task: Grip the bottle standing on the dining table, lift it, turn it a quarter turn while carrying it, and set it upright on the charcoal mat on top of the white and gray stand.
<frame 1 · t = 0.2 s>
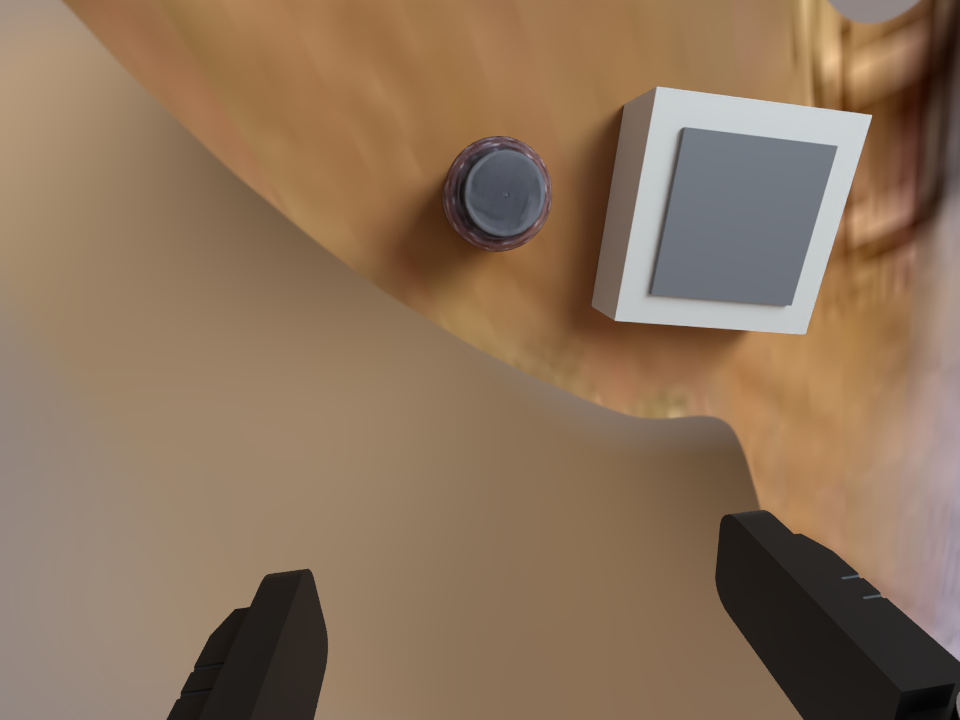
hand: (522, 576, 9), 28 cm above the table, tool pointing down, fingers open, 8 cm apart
white and gray stand: (697, 220, 35), on the table
supplement bottle: (483, 199, 34), on the table
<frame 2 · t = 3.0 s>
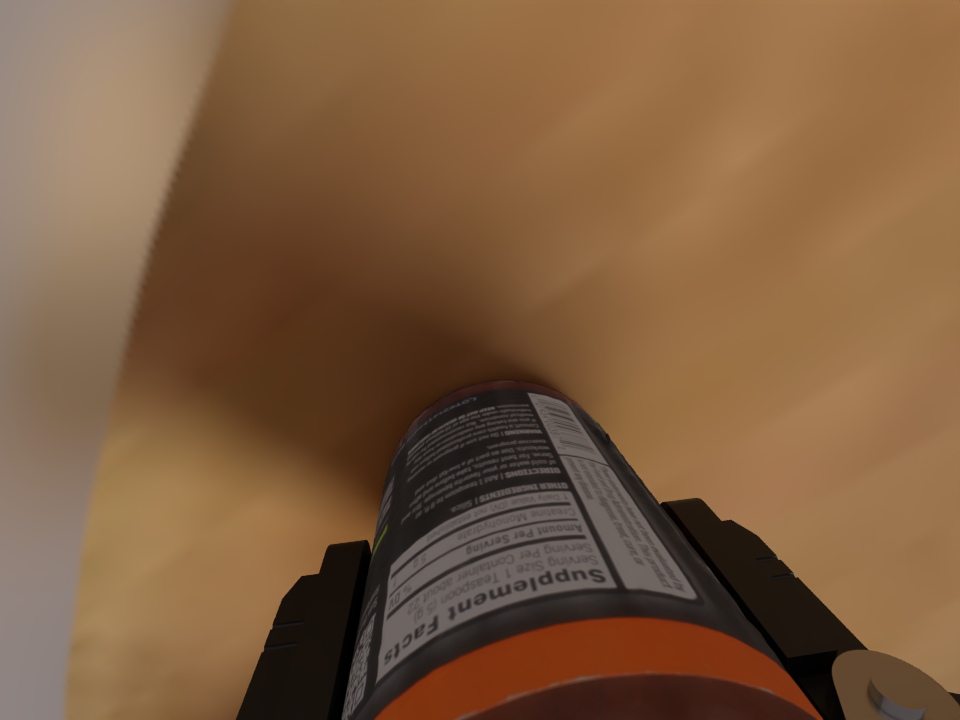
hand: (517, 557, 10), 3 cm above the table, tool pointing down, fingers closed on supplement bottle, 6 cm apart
supplement bottle: (498, 470, 13), on the table, touching gripper
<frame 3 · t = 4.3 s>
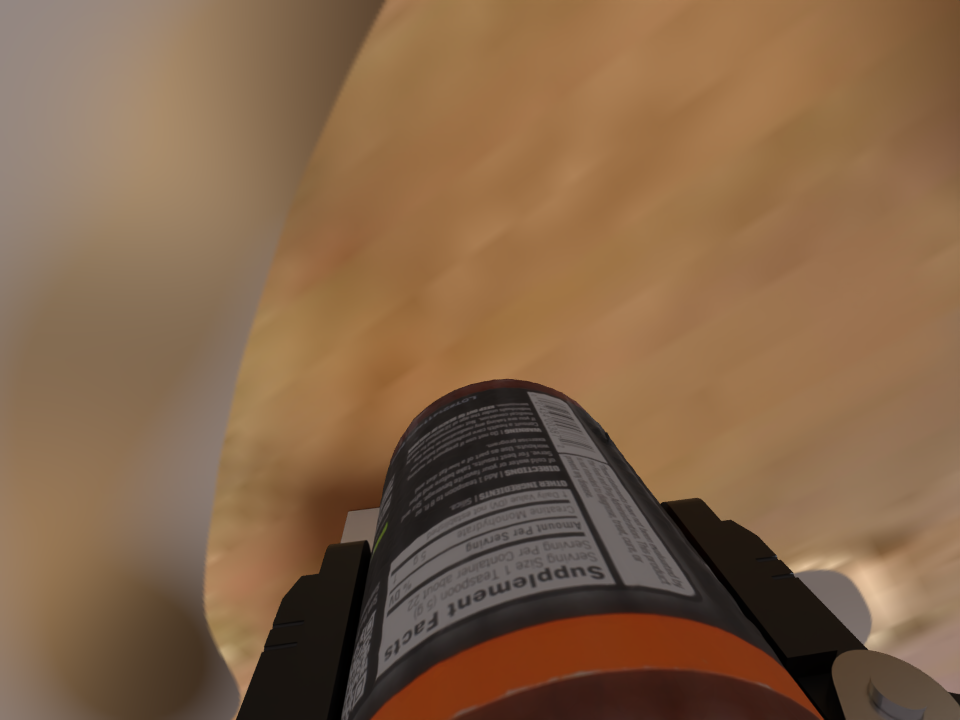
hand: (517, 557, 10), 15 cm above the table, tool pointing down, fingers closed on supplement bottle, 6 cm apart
white and gray stand: (483, 592, 29), on the table
supplement bottle: (498, 469, 13), point 12 cm above the table, touching gripper
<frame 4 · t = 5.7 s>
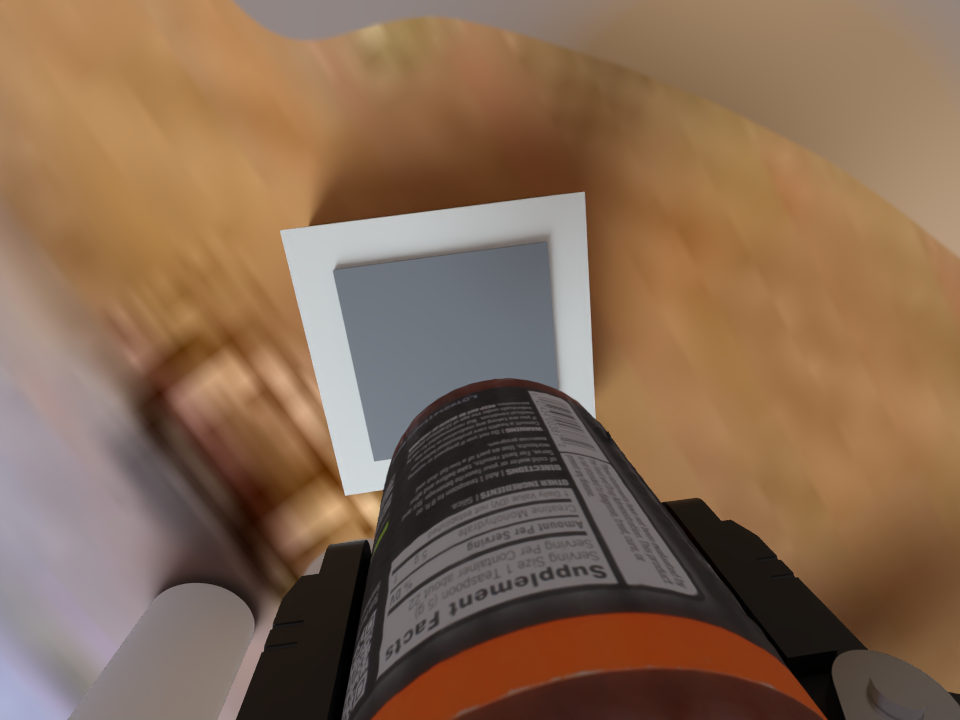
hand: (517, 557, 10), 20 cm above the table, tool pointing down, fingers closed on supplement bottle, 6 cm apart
white and gray stand: (452, 330, 29), on the table
can: (207, 613, 34), on the table
supplement bottle: (498, 469, 13), point 16 cm above the table, touching gripper
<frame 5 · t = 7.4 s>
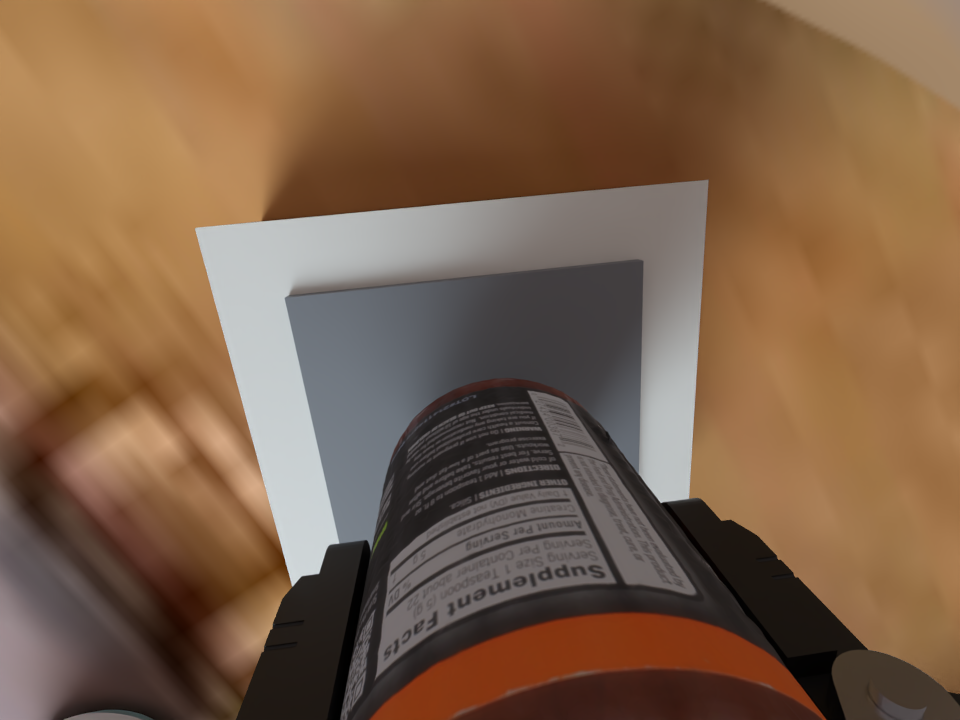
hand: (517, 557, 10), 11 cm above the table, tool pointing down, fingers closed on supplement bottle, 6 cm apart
white and gray stand: (470, 378, 20), on the table
supplement bottle: (498, 469, 13), point 7 cm above the table, touching gripper
when the fingers open (9 cm above the table, at t = 8.6 s): supplement bottle stays where it is, resting on white and gray stand.
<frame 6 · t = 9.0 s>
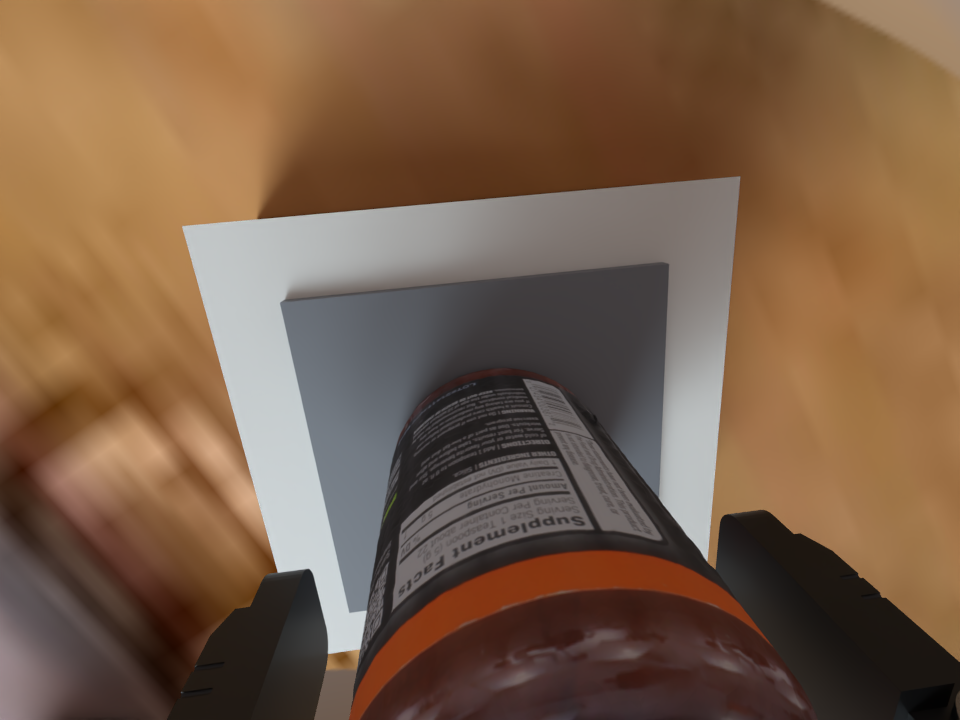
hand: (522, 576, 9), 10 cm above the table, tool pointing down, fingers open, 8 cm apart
white and gray stand: (477, 386, 19), on the table
supplement bottle: (496, 453, 14), point 5 cm above the table, touching white and gray stand
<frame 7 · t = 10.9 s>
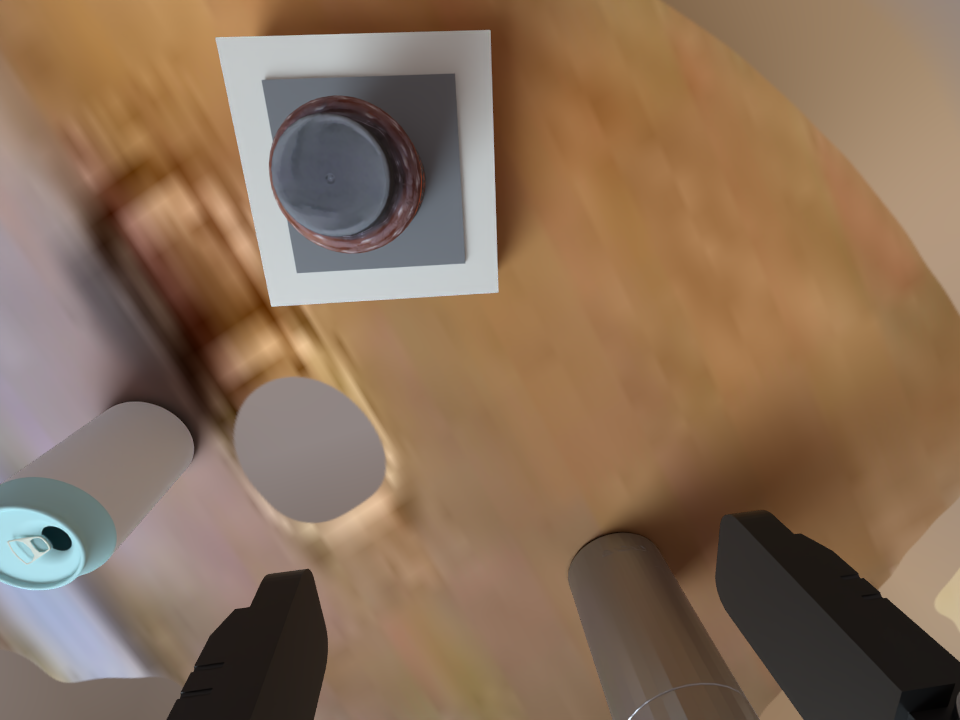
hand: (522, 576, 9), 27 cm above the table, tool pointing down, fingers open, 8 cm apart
white and gray stand: (382, 179, 32), on the table
can: (151, 437, 37), on the table
supplement bottle: (373, 180, 27), point 5 cm above the table, touching white and gray stand
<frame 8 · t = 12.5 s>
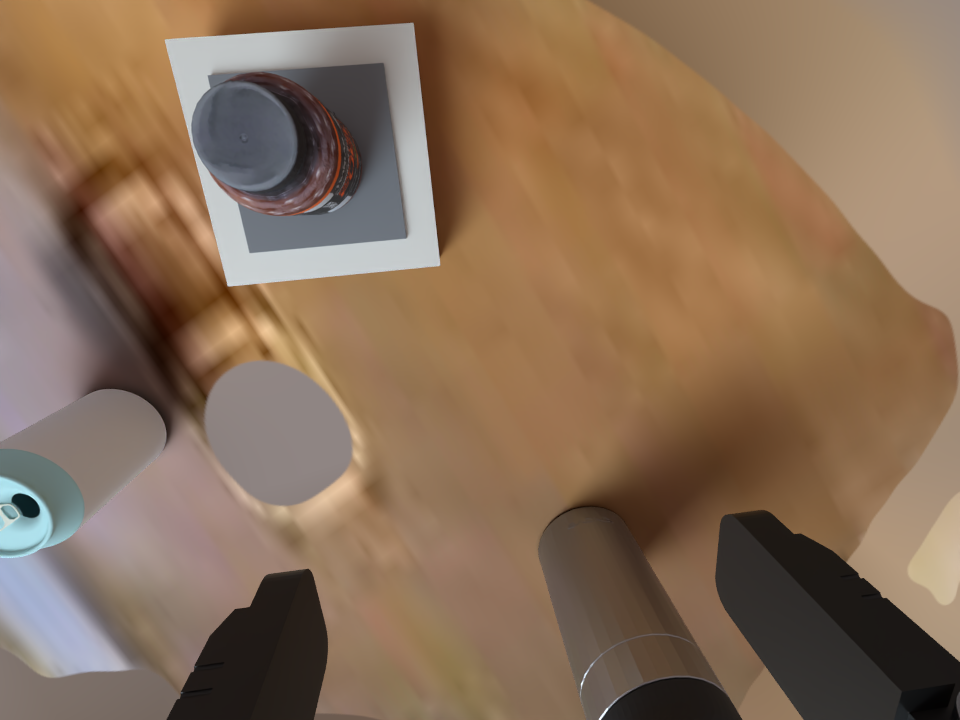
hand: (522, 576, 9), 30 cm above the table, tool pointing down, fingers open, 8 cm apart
white and gray stand: (331, 168, 34), on the table
can: (126, 424, 39), on the table
supplement bottle: (315, 163, 29), point 5 cm above the table, touching white and gray stand
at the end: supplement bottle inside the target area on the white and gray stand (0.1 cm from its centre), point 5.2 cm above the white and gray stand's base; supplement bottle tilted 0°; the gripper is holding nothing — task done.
